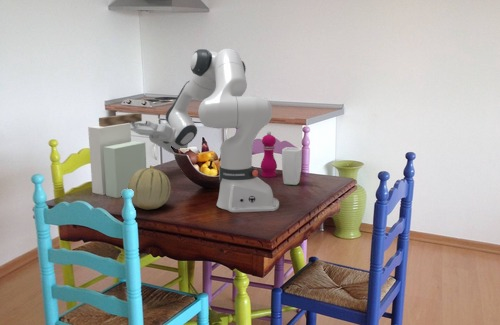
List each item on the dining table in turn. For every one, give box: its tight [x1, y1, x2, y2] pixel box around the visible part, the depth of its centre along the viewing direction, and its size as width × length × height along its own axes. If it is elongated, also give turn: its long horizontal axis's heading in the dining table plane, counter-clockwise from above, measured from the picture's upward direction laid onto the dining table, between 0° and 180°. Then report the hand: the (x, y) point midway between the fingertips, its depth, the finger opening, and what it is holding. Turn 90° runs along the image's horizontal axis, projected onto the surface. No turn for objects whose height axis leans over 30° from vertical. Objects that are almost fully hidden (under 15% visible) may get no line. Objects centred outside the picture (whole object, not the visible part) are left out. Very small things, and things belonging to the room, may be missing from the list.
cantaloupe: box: [128, 165, 172, 211], centre depth 186 cm, size 15×15×15 cm
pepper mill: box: [260, 131, 278, 179], centre depth 233 cm, size 7×7×20 cm
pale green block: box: [103, 140, 147, 199], centre depth 207 cm, size 16×6×19 cm, turn 146°
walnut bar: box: [98, 112, 143, 127], centre depth 212 cm, size 20×3×3 cm, turn 146°
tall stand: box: [87, 123, 132, 196], centre depth 211 cm, size 16×6×26 cm, turn 146°
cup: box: [281, 146, 303, 186], centre depth 220 cm, size 7×7×15 cm
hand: (138, 121), depth 220 cm, fingers open, 8 cm apart
